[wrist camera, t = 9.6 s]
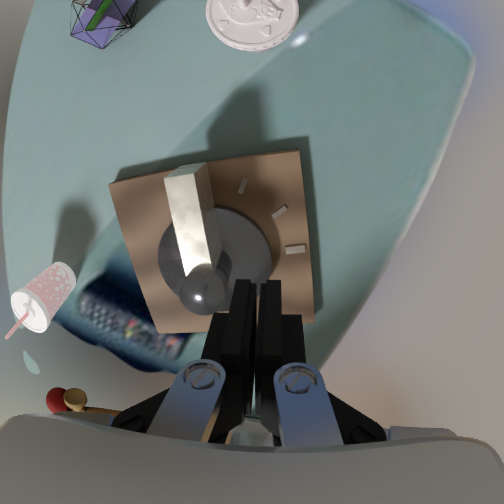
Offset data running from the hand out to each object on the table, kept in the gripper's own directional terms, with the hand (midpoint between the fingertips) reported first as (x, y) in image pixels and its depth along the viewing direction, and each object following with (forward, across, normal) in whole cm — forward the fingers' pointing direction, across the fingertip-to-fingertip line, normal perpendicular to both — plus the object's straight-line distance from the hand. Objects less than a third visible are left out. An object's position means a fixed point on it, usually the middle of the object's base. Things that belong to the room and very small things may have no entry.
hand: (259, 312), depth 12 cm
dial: (+20, +6, +6) cm, 22 cm away
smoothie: (+22, +1, -15) cm, 26 cm away
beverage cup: (+22, +28, +12) cm, 38 cm away
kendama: (+22, +34, +42) cm, 58 cm away
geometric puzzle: (+22, +16, -19) cm, 33 cm away
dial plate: (+22, +6, +8) cm, 24 cm away
